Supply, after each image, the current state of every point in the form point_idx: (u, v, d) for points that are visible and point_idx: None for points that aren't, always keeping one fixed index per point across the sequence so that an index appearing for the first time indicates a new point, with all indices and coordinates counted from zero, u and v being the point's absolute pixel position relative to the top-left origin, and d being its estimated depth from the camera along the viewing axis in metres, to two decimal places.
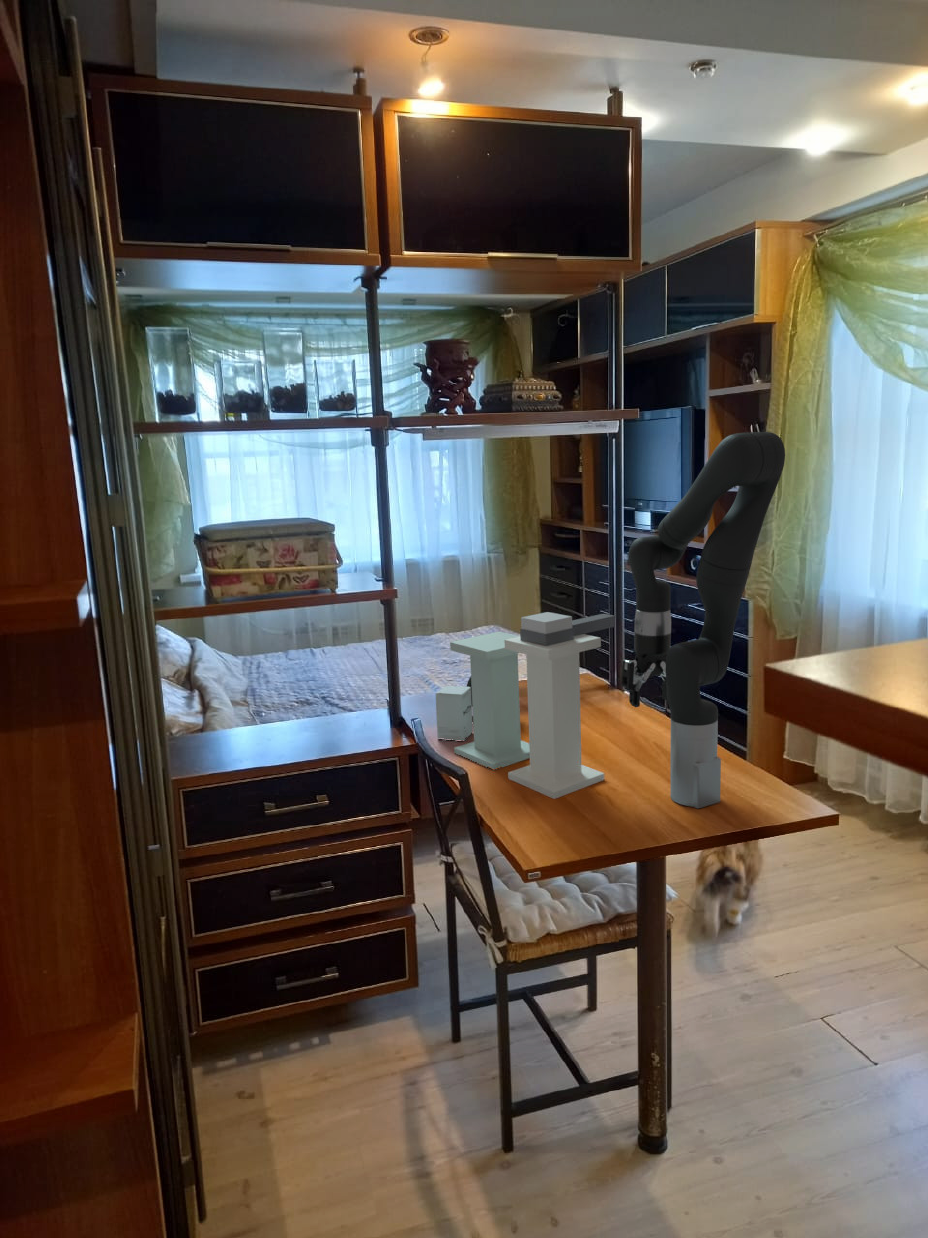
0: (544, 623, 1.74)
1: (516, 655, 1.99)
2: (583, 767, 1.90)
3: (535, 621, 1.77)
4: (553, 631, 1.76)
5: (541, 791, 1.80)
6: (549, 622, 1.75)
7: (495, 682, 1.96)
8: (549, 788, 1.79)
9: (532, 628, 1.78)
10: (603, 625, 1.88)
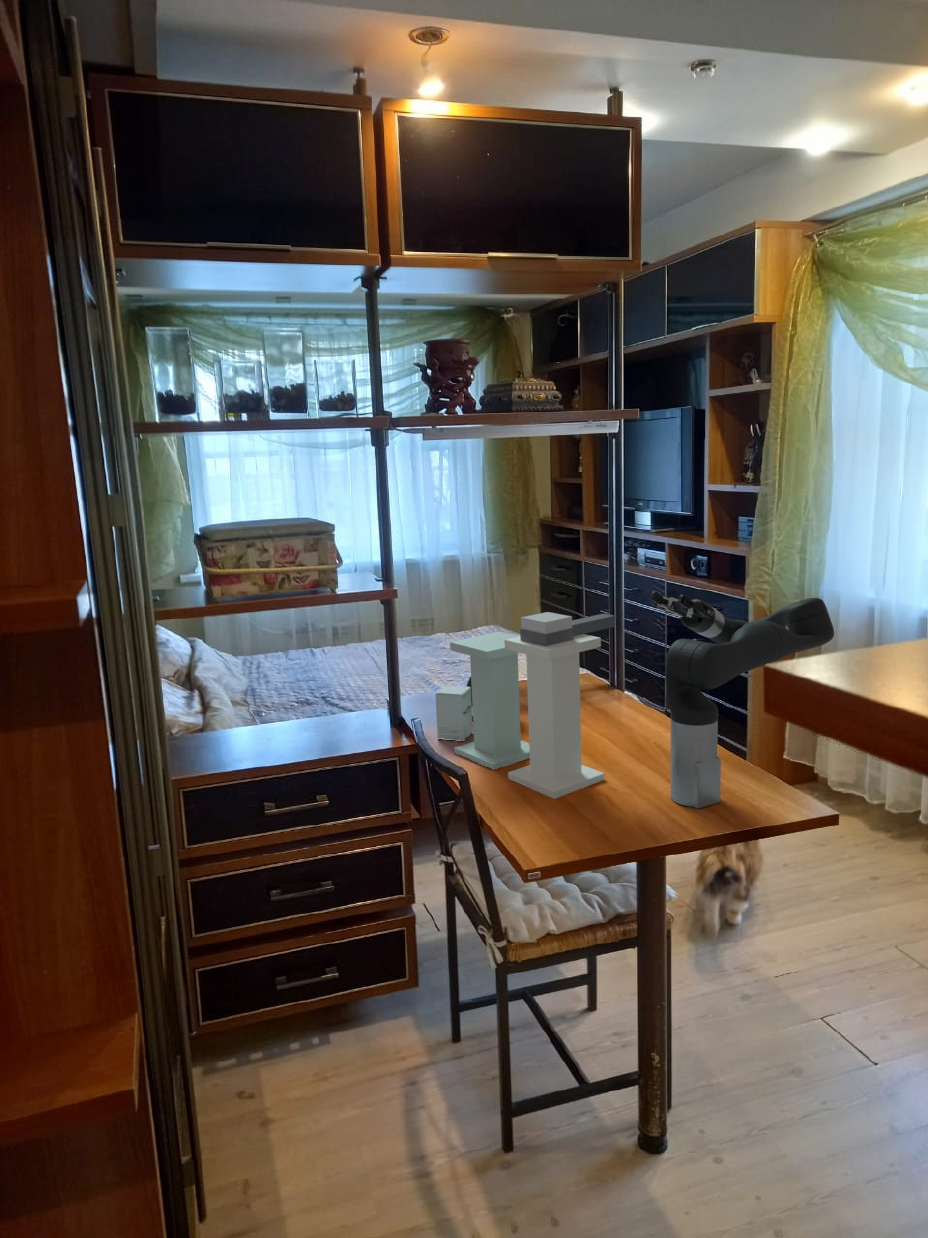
0: (544, 623, 1.74)
1: (516, 655, 1.99)
2: (583, 767, 1.90)
3: (535, 621, 1.77)
4: (553, 631, 1.76)
5: (541, 791, 1.80)
6: (549, 622, 1.75)
7: (495, 682, 1.96)
8: (549, 788, 1.79)
9: (532, 628, 1.78)
10: (603, 625, 1.88)
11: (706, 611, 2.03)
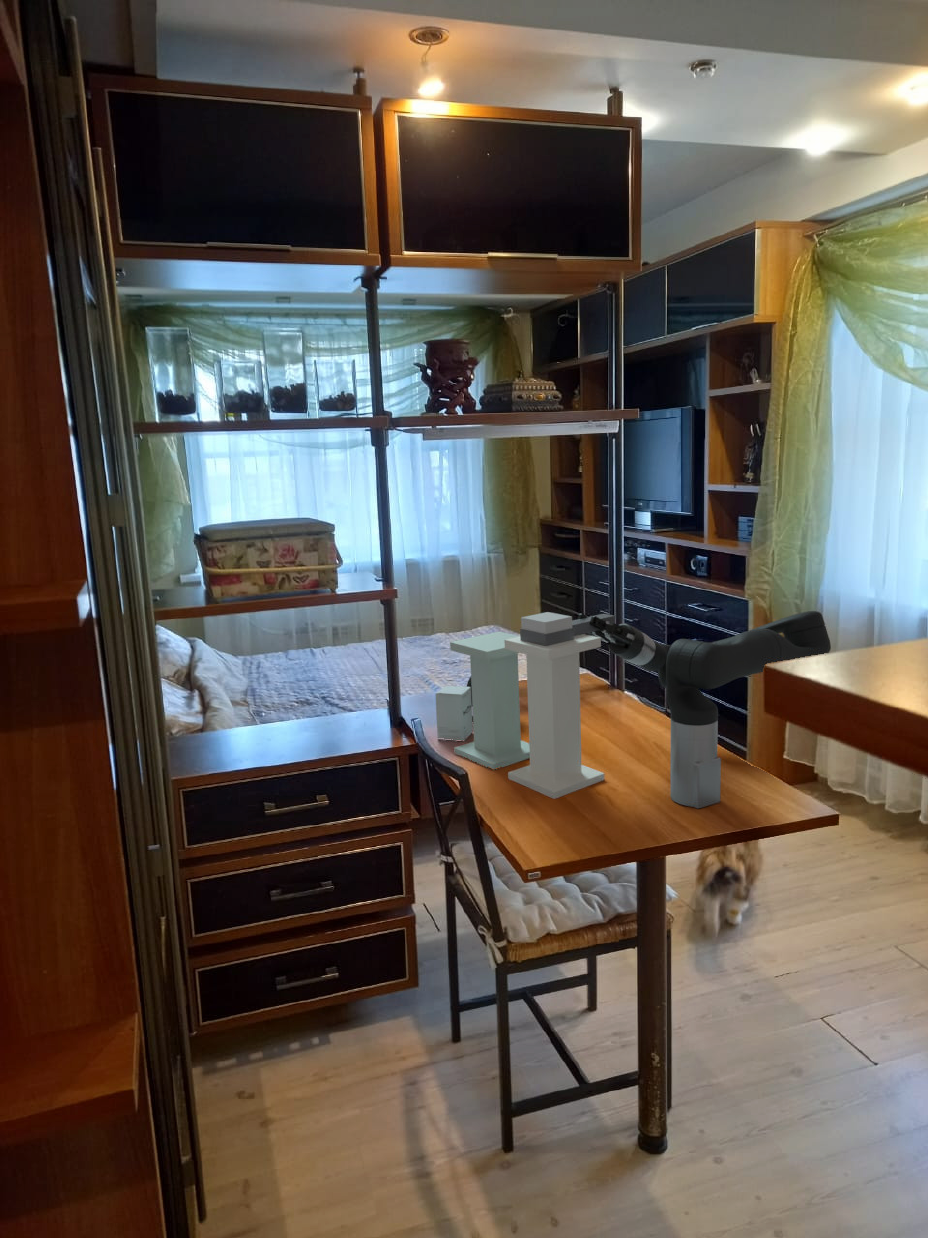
0: (544, 623, 1.74)
1: (516, 655, 1.99)
2: (583, 767, 1.90)
3: (535, 621, 1.77)
4: (553, 631, 1.76)
5: (541, 791, 1.80)
6: (549, 622, 1.75)
7: (495, 682, 1.96)
8: (549, 788, 1.79)
9: (532, 628, 1.78)
10: None
11: (623, 634, 1.86)
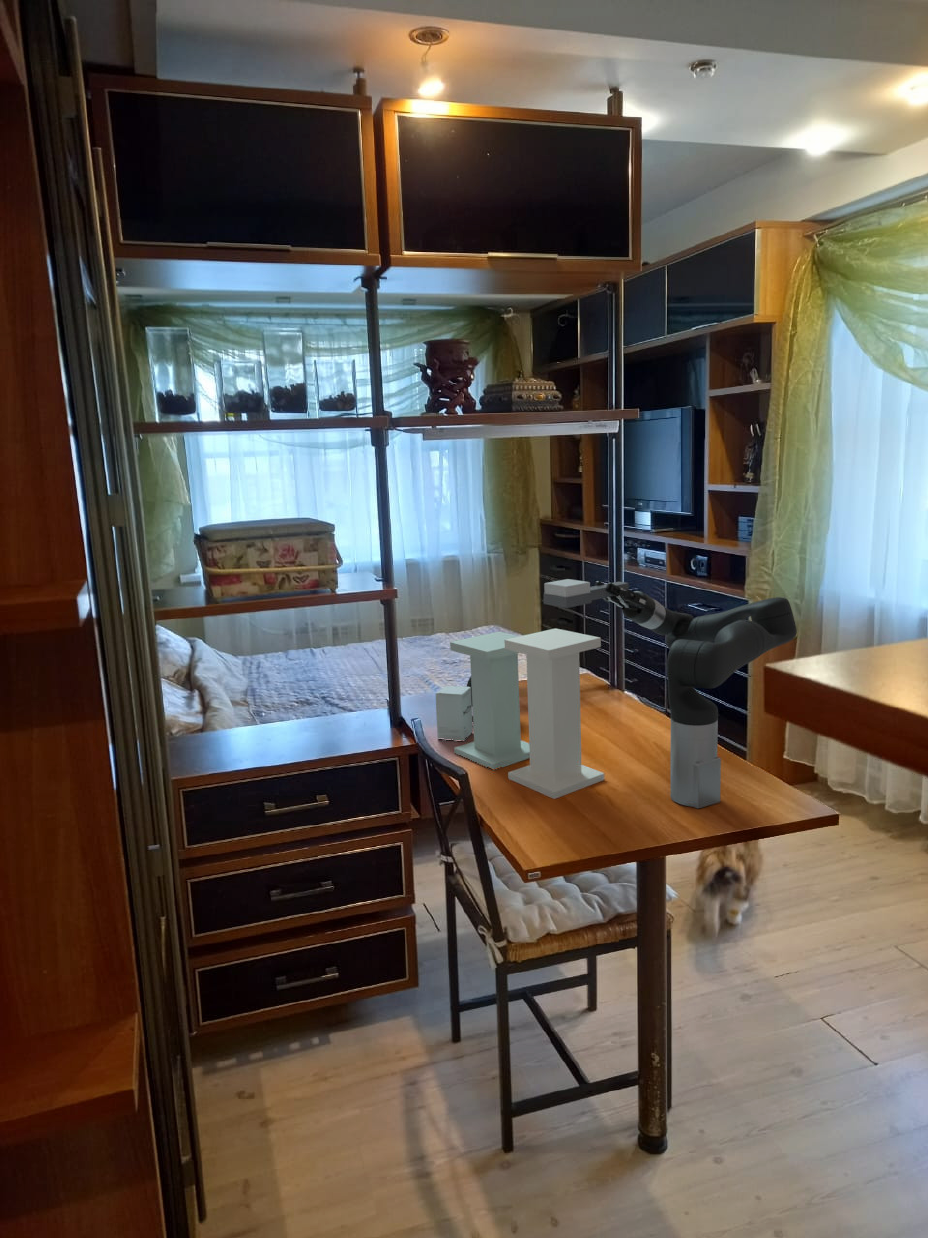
0: (565, 587, 1.96)
1: (516, 655, 1.99)
2: (583, 767, 1.90)
3: (557, 586, 1.98)
4: (573, 594, 1.97)
5: (541, 791, 1.80)
6: (569, 586, 1.96)
7: (495, 682, 1.96)
8: (549, 788, 1.79)
9: (554, 592, 1.99)
10: None
11: (635, 599, 2.07)
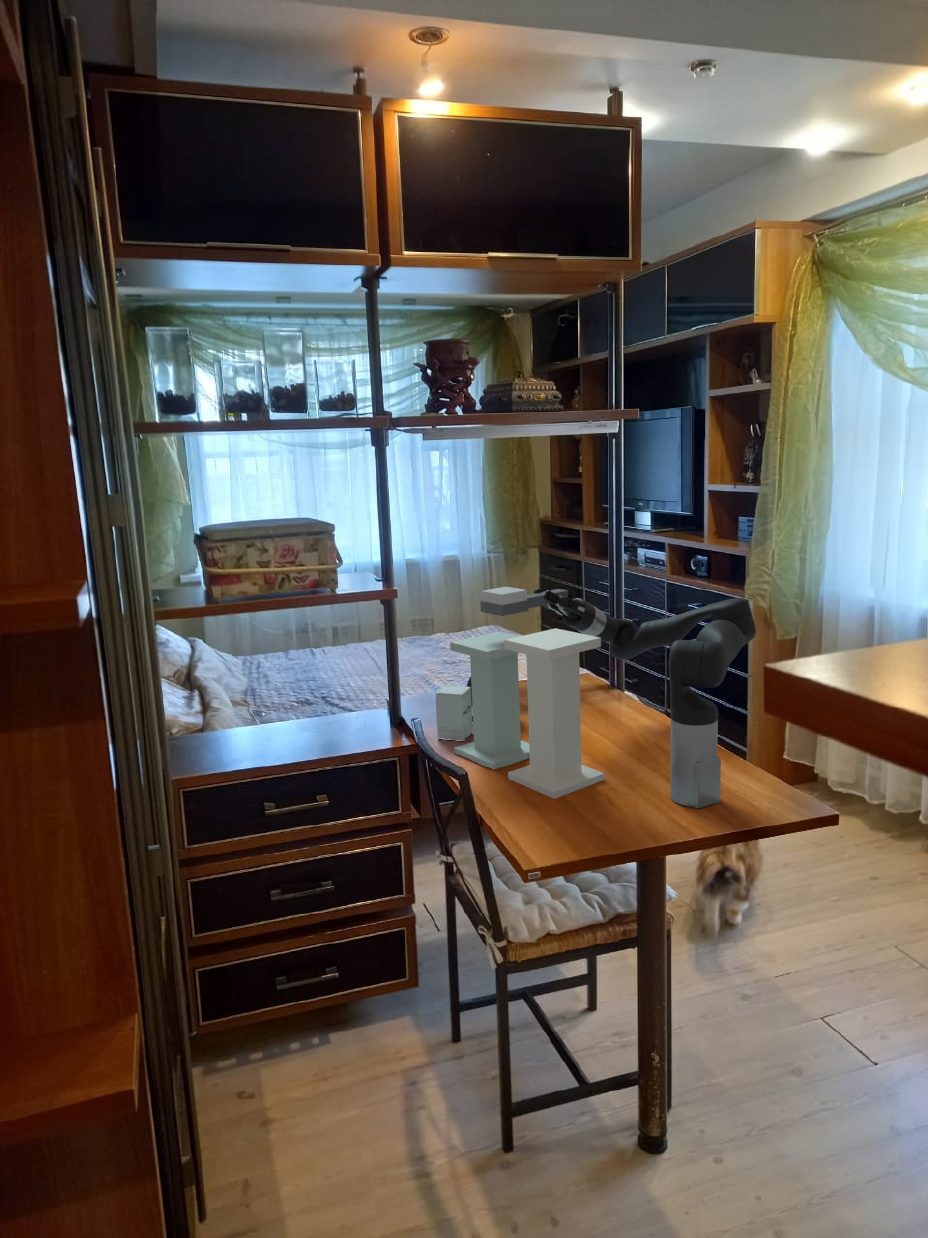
0: (500, 595, 1.94)
1: (516, 655, 1.99)
2: (583, 767, 1.90)
3: (493, 594, 1.96)
4: (509, 602, 1.96)
5: (541, 791, 1.80)
6: (505, 594, 1.95)
7: (495, 682, 1.96)
8: (549, 788, 1.79)
9: (490, 600, 1.97)
10: None
11: (574, 607, 2.06)
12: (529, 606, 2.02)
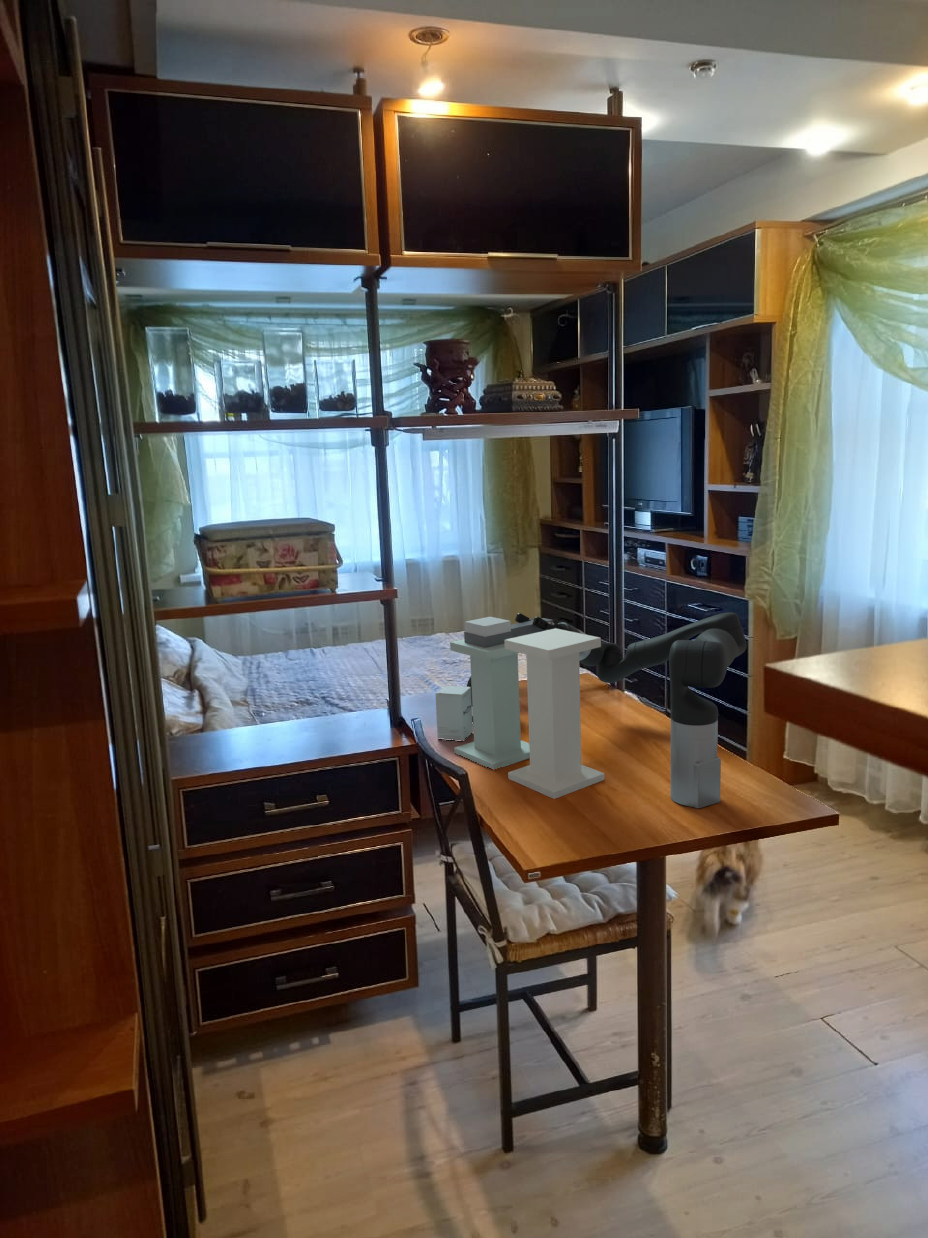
0: (484, 627, 1.92)
1: (516, 655, 1.99)
2: (583, 767, 1.90)
3: (476, 625, 1.95)
4: (493, 634, 1.94)
5: (541, 791, 1.80)
6: (488, 626, 1.93)
7: (495, 682, 1.96)
8: (549, 788, 1.79)
9: (474, 631, 1.96)
10: None
11: None
12: (513, 636, 2.01)
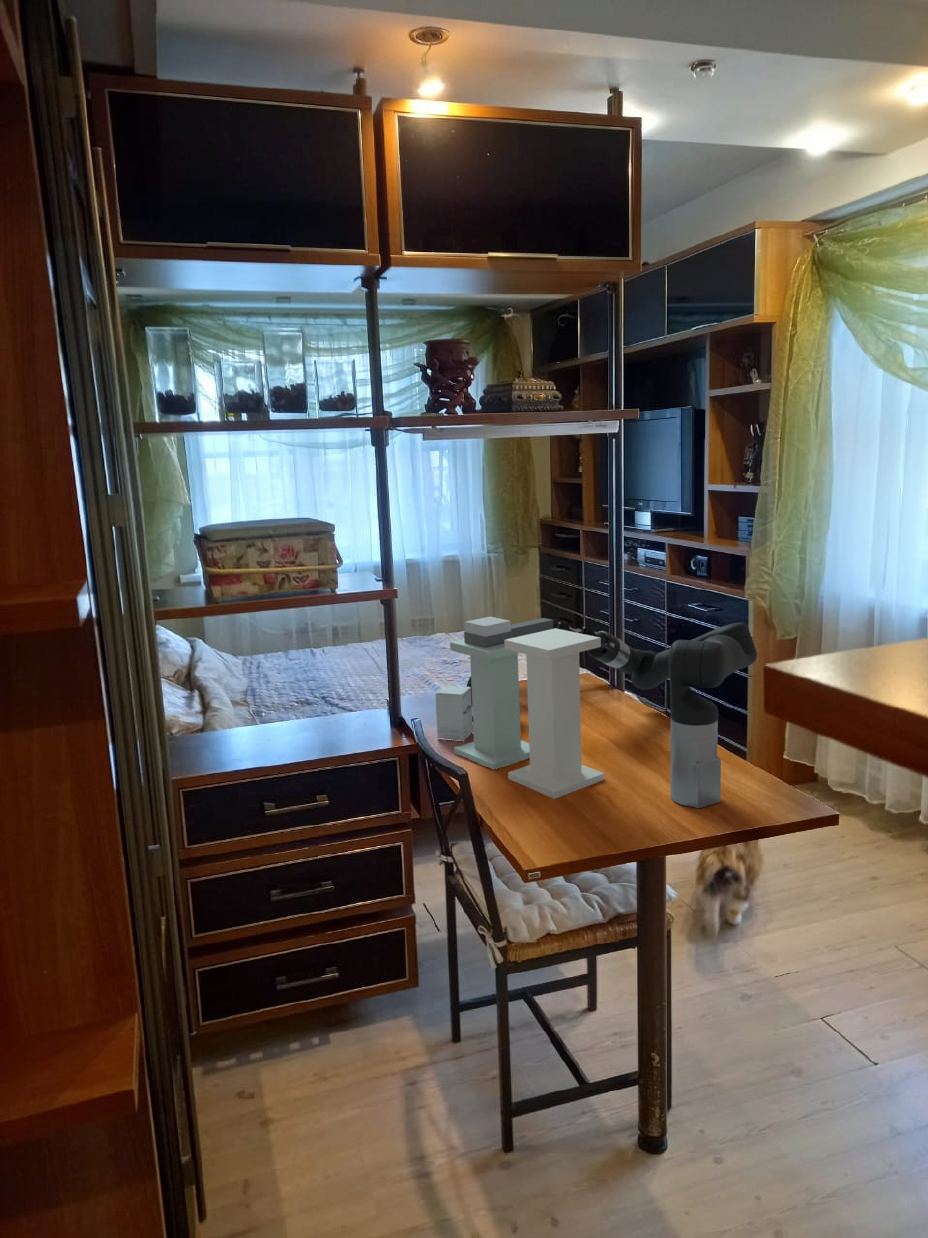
0: (484, 627, 1.92)
1: (516, 655, 1.99)
2: (583, 767, 1.90)
3: (476, 625, 1.95)
4: (493, 634, 1.94)
5: (541, 791, 1.80)
6: (488, 626, 1.93)
7: (495, 682, 1.96)
8: (549, 788, 1.79)
9: (474, 631, 1.96)
10: (542, 628, 2.06)
11: (608, 643, 2.11)
12: (513, 636, 2.01)
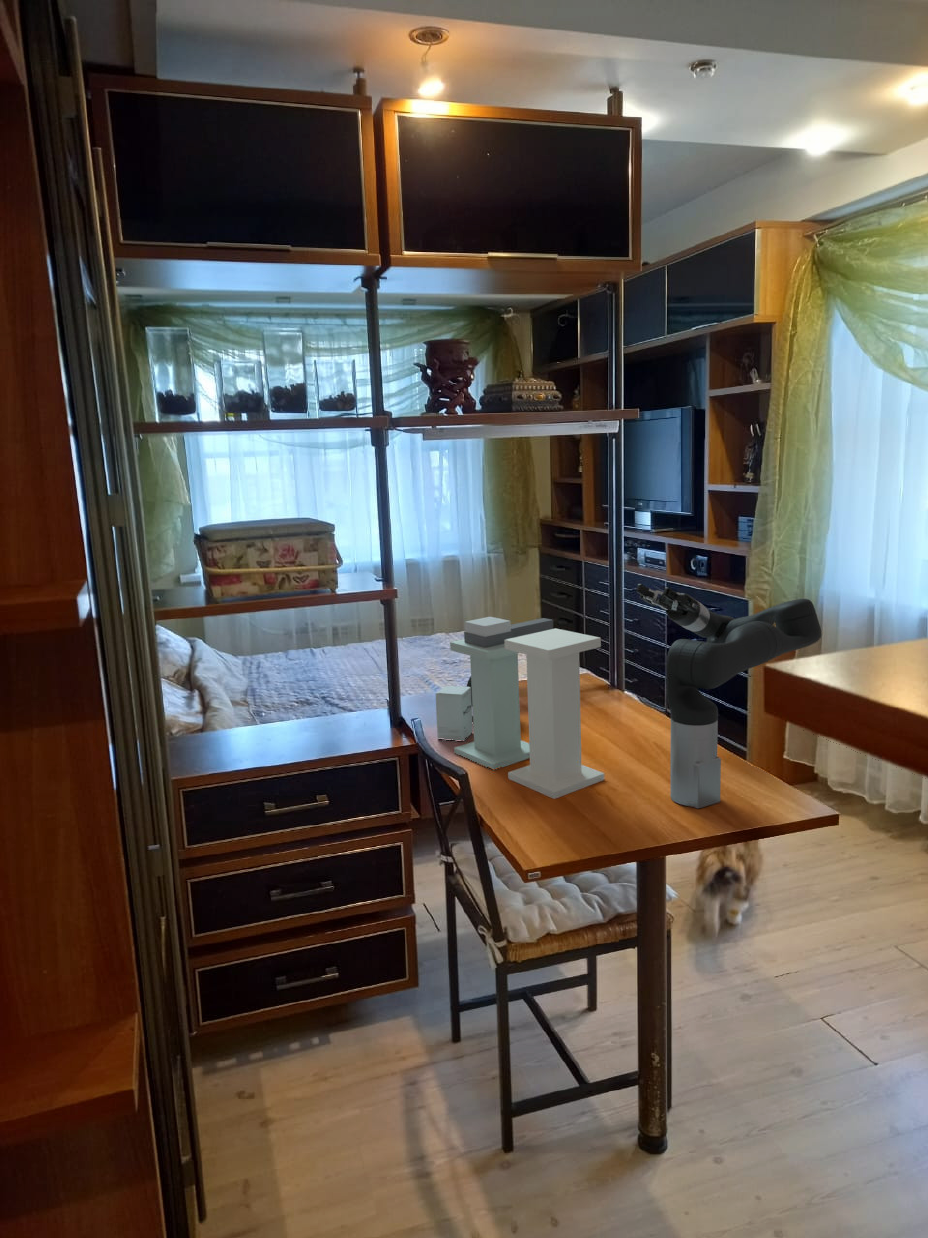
0: (484, 627, 1.92)
1: (516, 655, 1.99)
2: (583, 767, 1.90)
3: (476, 625, 1.95)
4: (493, 634, 1.94)
5: (541, 791, 1.80)
6: (488, 626, 1.93)
7: (495, 682, 1.96)
8: (549, 788, 1.79)
9: (474, 631, 1.96)
10: (542, 628, 2.06)
11: (690, 604, 2.05)
12: (513, 636, 2.01)
